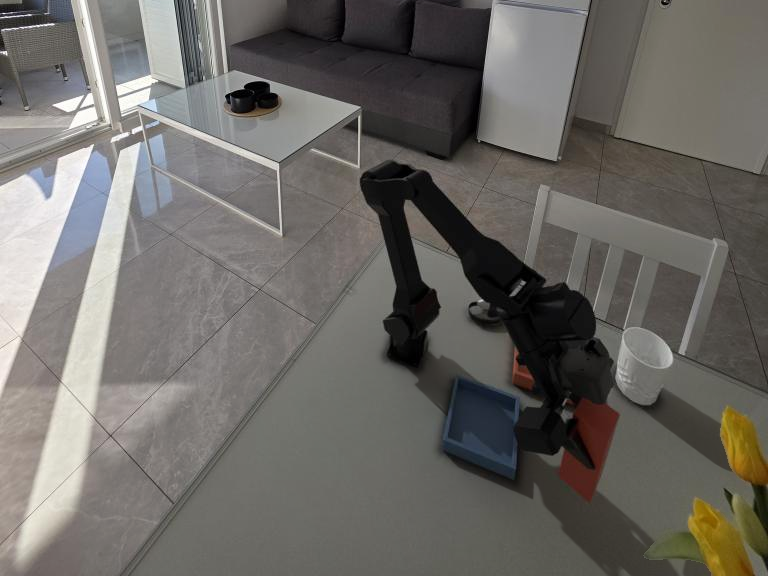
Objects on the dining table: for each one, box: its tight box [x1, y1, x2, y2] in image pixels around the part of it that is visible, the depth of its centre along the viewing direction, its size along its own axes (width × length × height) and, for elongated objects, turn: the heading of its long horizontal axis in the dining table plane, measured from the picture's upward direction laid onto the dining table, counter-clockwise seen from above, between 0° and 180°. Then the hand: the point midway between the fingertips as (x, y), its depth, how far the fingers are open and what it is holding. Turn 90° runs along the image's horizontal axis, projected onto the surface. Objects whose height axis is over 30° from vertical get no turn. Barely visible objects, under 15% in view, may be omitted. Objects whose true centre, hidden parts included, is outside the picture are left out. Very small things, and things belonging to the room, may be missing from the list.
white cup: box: [614, 326, 674, 406], centre depth 78 cm, size 8×8×10 cm
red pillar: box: [557, 398, 621, 504], centre depth 59 cm, size 4×4×13 cm
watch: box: [467, 298, 502, 326], centre depth 92 cm, size 8×5×4 cm, turn 85°
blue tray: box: [441, 374, 521, 481], centre depth 72 cm, size 11×11×2 cm
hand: (598, 453), depth 58 cm, fingers closed on red pillar, 4 cm apart
